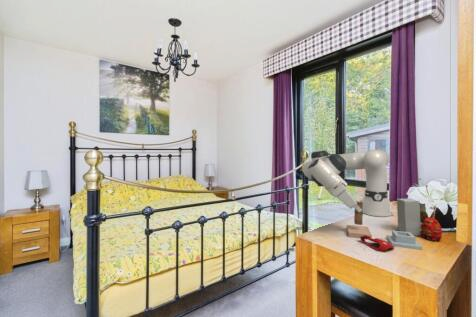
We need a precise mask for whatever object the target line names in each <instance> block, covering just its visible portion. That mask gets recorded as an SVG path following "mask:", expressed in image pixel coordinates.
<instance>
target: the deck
mask: <svg viewBox="0 0 476 317" xmlns="http://www.w3.org/2000/svg"><path fill="white" fill-rule="evenodd" d="M346 231H347V235H348V238H356V239H361V238H360V237H359V236H362V235H365V234H367V235H369V236H371V237H370V239H371V238H372V239H373V237H372V236H373V234H372V233H371V230H370V228H369V227H368V226H363V225H356V224H352V225H351V224H346Z"/></svg>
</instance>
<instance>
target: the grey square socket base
mask: <svg viewBox="0 0 476 317" xmlns="http://www.w3.org/2000/svg"><path fill="white" fill-rule="evenodd" d="M386 239H387V242H389V243H390V244H391V245H393V246H394V248H404V249H405V248H406V249H411V250H419V251H420V250H421V251H423V246H422V245H421V244H420V243H419V242H418V241H417V240H416V236H413V235H412V234H411V233H410V232H402V231H399V230H393V229H392V232H391V235H388V234H387V235H386Z"/></svg>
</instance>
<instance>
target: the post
mask: <svg viewBox="0 0 476 317" xmlns="http://www.w3.org/2000/svg"><path fill="white" fill-rule="evenodd" d="M356 202H357V205H358V206H359V207H360V208H361V209H362V211H361V212H358V211H357V210H356V209H355V208H354V220H353V221H354V225H356V226H363V219H364V218H363V215H364V213H363V202H361V201H360V200H359V201H358V200H356Z"/></svg>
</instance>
